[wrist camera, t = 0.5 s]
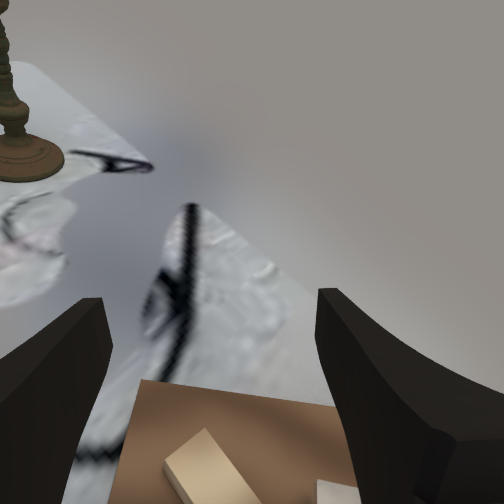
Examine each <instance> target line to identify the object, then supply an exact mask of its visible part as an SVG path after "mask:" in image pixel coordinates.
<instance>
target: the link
mask: <svg viewBox="0 0 504 504" xmlns="http://www.w3.org/2000/svg"><path fill="white" fill-rule="evenodd" d="M162 471H163V472H164V474H165V475H166V477H167V478H168V480H169V481H170V483H171V485H172V486H173V488H174V489H175V491H176V492H177V494H178V495H179V497H180V498H181V500H182V501H183V503H184V504H262V503H261V502H260V500H259V499H258V498H257V496H256V495H255V494H254V492H253V491H252V490H251V488H250V487H249V486H248V484H247V483H246V482H245V480H244V479H243V478H242V476H241V475H240V474H239V472H238V471H237V470H236V468H235V467H234V466H233V464H232V463H231V462H230V460H229V459H228V458H227V456H226V455H225V454H224V452H223V451H222V450H221V448H220V447H219V446H218V444H217V443H216V442H215V440H214V439H213V438H212V436H211V435H210V434H209V432H208V431H207V430H206V428H204V429H202V430H201V431H200V432H199V433H197V434H196V435H195V436H194V437H192V438H191V439H190V440H189V441H187V442H186V443H185V444H184V445H182V446H181V447H180V448H179V449H177V450H176V451H175V452H174V453H172V454H171V455H170V456H169V457H167V458H166V459H165V461H164V465H163V470H162Z"/></svg>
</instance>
